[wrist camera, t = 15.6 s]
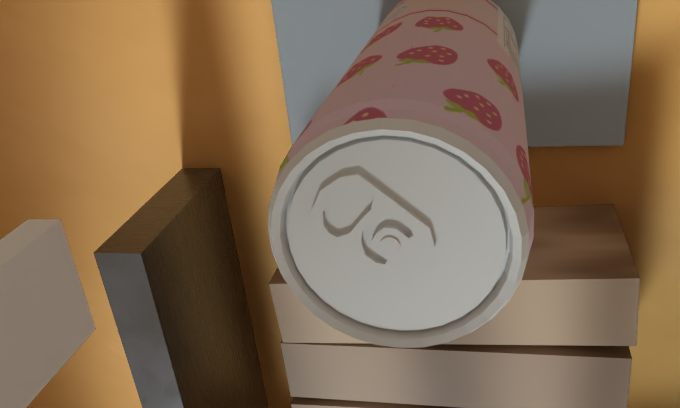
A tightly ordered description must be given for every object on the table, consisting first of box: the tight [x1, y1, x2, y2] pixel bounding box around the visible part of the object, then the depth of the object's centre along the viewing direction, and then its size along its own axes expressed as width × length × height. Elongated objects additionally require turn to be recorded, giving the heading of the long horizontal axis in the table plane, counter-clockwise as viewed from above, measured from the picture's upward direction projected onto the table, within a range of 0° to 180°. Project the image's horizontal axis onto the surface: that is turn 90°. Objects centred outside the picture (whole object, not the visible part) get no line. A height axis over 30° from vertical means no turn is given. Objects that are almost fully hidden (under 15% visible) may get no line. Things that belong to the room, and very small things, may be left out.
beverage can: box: [268, 0, 534, 348], centre depth 19 cm, size 6×6×15 cm
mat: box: [271, 0, 638, 147], centre depth 26 cm, size 14×8×1 cm, turn 97°
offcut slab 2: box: [280, 341, 632, 408], centre depth 29 cm, size 14×3×6 cm, turn 97°
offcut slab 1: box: [269, 204, 640, 346], centre depth 28 cm, size 14×3×6 cm, turn 100°
